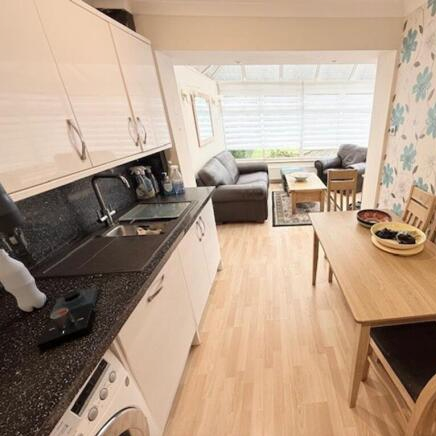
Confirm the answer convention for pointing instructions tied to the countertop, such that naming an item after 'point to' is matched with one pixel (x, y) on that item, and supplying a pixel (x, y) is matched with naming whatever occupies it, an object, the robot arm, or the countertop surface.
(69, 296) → the button
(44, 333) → the dial panel
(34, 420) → the countertop surface
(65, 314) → the knob
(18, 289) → the water bottle
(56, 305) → the button box
